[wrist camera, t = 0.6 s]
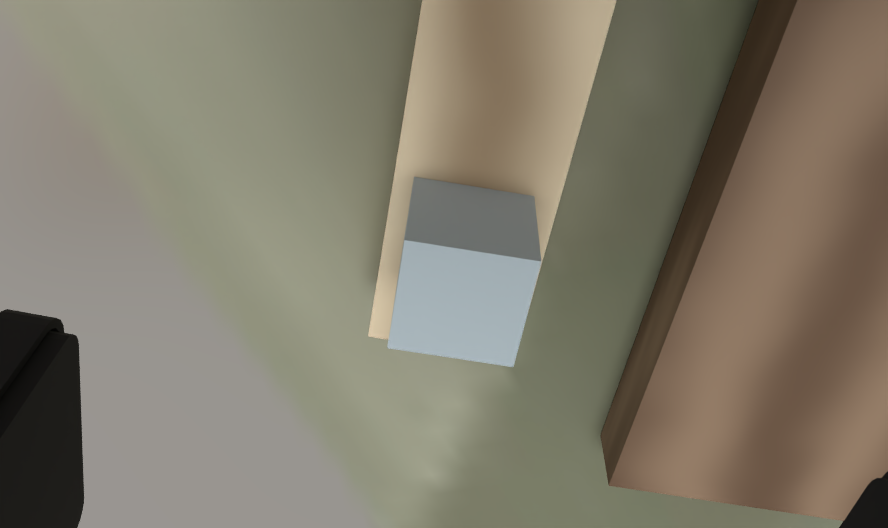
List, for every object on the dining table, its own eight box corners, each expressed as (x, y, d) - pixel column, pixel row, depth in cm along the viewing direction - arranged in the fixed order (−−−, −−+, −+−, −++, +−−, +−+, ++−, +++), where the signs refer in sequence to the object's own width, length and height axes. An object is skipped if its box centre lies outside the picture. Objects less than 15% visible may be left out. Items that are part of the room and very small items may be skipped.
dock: (1149, -8, 27) (1218, 20, 24) (856, 474, 39) (882, 526, 36) (786, -76, 26) (818, -55, 24) (600, 435, 38) (608, 485, 36)
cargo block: (534, 195, 28) (541, 261, 25) (509, 294, 30) (513, 367, 27) (413, 176, 28) (404, 240, 24) (397, 277, 30) (387, 348, 26)
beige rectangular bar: (641, -186, 25) (665, -173, 22) (511, 299, 35) (514, 360, 32) (461, -223, 25) (457, -216, 22) (379, 276, 35) (368, 336, 31)
